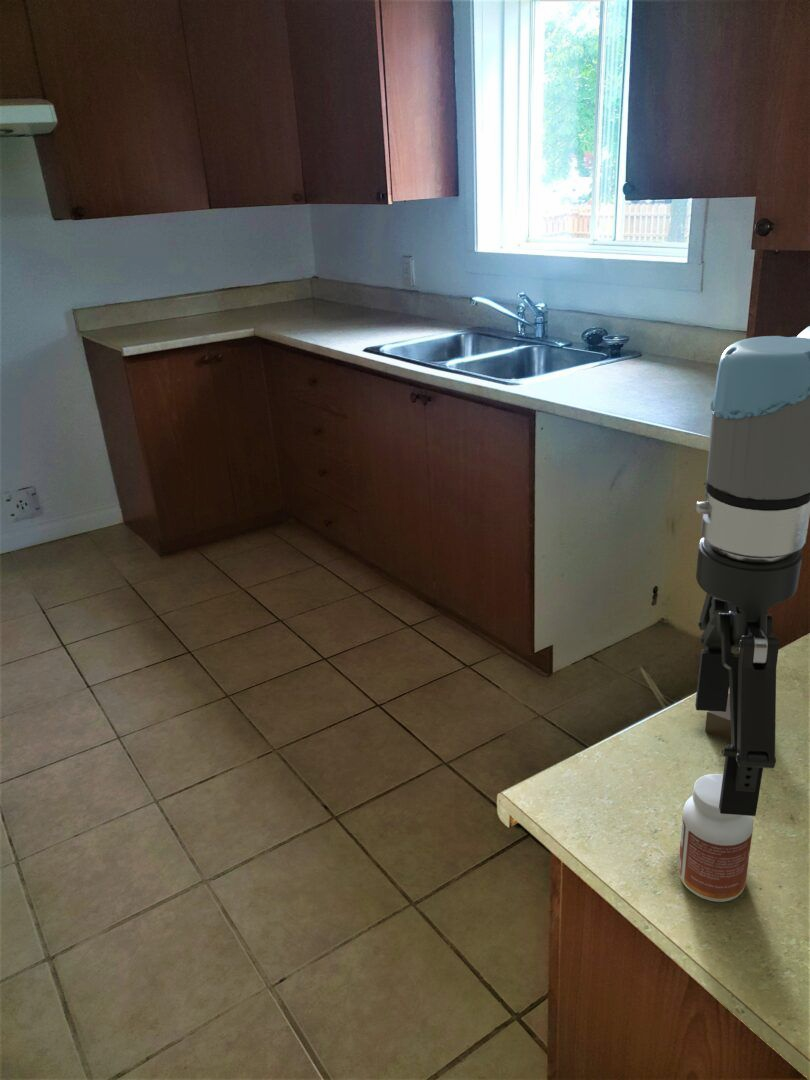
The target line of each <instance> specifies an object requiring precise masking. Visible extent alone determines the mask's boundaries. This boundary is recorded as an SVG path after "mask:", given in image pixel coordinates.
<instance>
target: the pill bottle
mask: <svg viewBox="0 0 810 1080" xmlns="http://www.w3.org/2000/svg"><path fill="white" fill-rule="evenodd" d="M722 780H723V774H721V773H709V774H704V775H702V776H700V777H699V778H697V779H696V781H695V782H694V784H693V790H692V795H691V796H690V797H689V798H688V799H687V800H686V802H685V803H684V805H683V809H682V818H681V828H680V829H681V831H680V839H679V840H680V842H679V854H678V864H677V865H678V870H677V871H678V876H679V878H680V881H681V883H682V884H683V885H684V886H685V887H686V888H687V890H688V891H690V892H691V893H692V894H694V895H696V896H697V897H699V898H701V899H703V900H706V901H711V902H714V903H724V902H729V901H732V900H734V899H736V898H738V897H739V896H740V895H741V894H742V893H743V891H744V889H745V887H746V883H747V877H748V871H749V870H748V869H749V862H750V854H751V846H752V838H753V833H754V832H753V830H754V818H753V817H754V816H748V815H734V814H720V809H719V802H720V795H721V787H722Z"/></svg>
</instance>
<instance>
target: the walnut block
mask: <svg viewBox="0 0 810 1080" xmlns="http://www.w3.org/2000/svg"><path fill="white" fill-rule="evenodd" d="M704 732H705V733H708V734H711V735H713V736H715V737H719V738H721V739H723V740H726V741H729V742H731V719H730V692H728V700H727V708H726V712H722V711H707V712H706V717H705V727H704Z"/></svg>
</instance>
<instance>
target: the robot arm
mask: <svg viewBox="0 0 810 1080" xmlns="http://www.w3.org/2000/svg"><path fill="white" fill-rule="evenodd" d="M714 385H715V386H714V390H713V391H714V392H713V397H712V401H711V403H710V410H711V419H710V432H709V445H708V446H709V447H708V459H707V469H706V470H707V471H706V479H705V490H704V496H705V501H697V502H696V503H695V510H694V512H696V513H697V514H698V515H702V518H701V528H700V532H701V536H702V538H700V540H699V542H698V551H697V559H696V569H695V580H696V582H697V584H698V586H699V587H700V589H702V590H703V592H705V593H706V595H705V599H704V601H703V606H702V609H701V613H700V616H699V620H698V621H697V623H698V624H697V625H698V627H699V630H700V631H703V632H702V634H701V637H700V643H701V646H702V647H705V649H704V648H703V649H702V648H701V650H700V660H699V669H698V676H697V686H696V695H695V704H694V705H695V710H696V711H701V712H702V711H704V712H706V711H722V712H726V708H727V700H728V693H729V694H730V719H731V741H730V742H731V744H726V747H724V748H723V747H722V748H721V755H722V757H725V758H724V765H723V772H722V773H723V774H722V775H723V780H722V787H721V795H720V802H719V809H720V814H734V815H748V816H752V817H756V815H757V809H758V802H759V797H760V790H761V785H762V784H761V783H762V778H763V772H764V769H774V768H775V767H776V764H777V759H776V718H777V717H776V716H777V715H776V714H777V713H776V712H777V711H776V710H777V707H776V706H777V666H778V657H779V649H780V646H781V643H780V641H779V638H778V637H777V636H771V635H772V634H773V630H774V627H773V626H774V625H773V616H772V614H769V613H768V610H770V609H771V608H773V607H774V606H777V605H780V604H782V603H784V602H787V601H788V600H790V599H791V598H792V597H793V596H794V595H795V594H796V592H797V590H798V585H799V579H800V573H801V567H802V559H803V551H802V548H803V547H804V545H805V544H806V542H807V536H808V529H809V523H810V325H809V326H807V327H806V328H805V329H803V330H802V331H801V332H800V333H798V335H797V336H782V335H766V336H765V335H764V336H754V337H749V338H745V339H741V340H737V341H735V342H733V343H732V344H730V345H729V346H727V347H726V349H725V350H724V351H723V353H722V354H721V355H720V360H719V363H718V368H717V372H716V379H715V384H714ZM734 654H735V655H738V656H737V657H736V656H734Z"/></svg>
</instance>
